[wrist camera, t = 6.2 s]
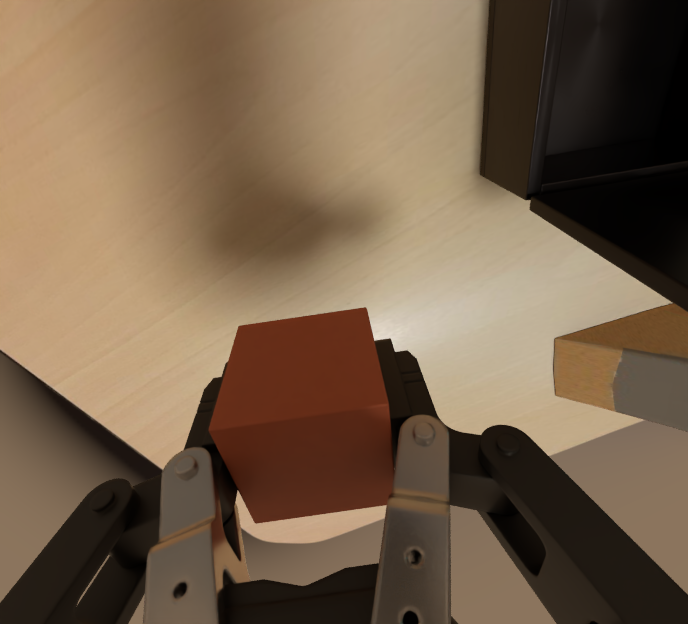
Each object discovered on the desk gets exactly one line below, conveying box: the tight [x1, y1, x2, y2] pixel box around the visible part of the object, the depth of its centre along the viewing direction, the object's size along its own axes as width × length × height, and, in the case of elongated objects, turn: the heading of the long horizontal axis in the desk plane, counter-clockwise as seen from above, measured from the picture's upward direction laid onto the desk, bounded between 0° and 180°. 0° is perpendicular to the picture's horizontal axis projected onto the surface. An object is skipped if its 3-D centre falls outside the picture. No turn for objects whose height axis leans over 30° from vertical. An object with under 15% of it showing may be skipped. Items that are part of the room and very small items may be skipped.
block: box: [209, 308, 395, 523], centre depth 12 cm, size 4×4×4 cm
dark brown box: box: [480, 0, 688, 200], centre depth 20 cm, size 16×13×7 cm
